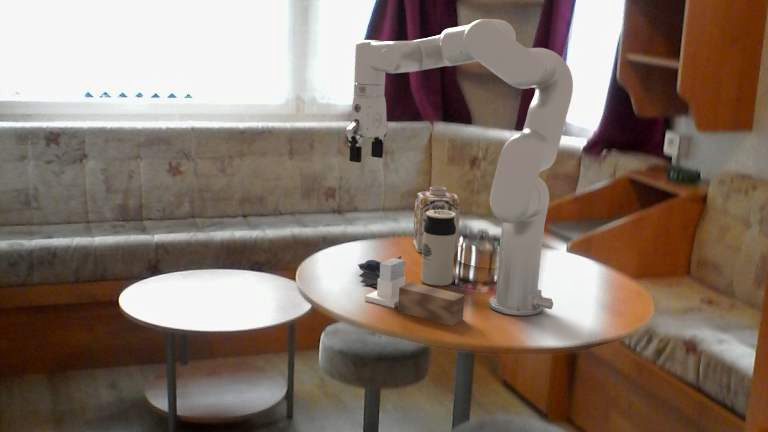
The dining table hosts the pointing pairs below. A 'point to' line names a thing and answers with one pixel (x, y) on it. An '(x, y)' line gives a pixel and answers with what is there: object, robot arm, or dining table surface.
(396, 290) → the fulcrum stand
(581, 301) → the dining table surface
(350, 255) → the dining table surface
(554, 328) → the dining table surface
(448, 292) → the wooden block
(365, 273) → the decorative bat
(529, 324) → the dining table surface
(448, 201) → the decorative jar
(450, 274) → the travel mug
